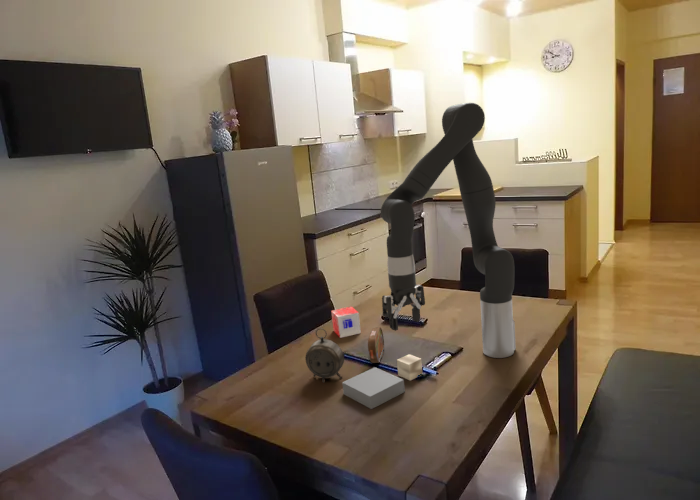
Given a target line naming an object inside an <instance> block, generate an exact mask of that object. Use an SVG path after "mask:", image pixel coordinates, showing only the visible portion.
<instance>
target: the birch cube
mask: <svg viewBox="0 0 700 500" xmlns="http://www.w3.org/2000/svg"><path fill="white" fill-rule="evenodd" d="M422 363H423V362H422V358H421V357H418V356H415V355H413V354H409V353H408V354H407V355H405V356H402V357H400V358H398V359H396V366H397V375H398V376H397V377H401V378H402V379H404V380H408V381H412V380H415V379H416V378H418V377H417V376H418V375H420V374H422V373H423V365H422ZM422 375H423V374H422ZM420 376H421V375H420Z"/></svg>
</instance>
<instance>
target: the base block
mask: <svg viewBox="0 0 700 500" xmlns="http://www.w3.org/2000/svg"><path fill="white" fill-rule="evenodd" d="M341 386H342V390H343V392H342V393H343V395H344V396H347V398H350V399H352V400H354V401H355V402H358V403H359V404H361V405H363V406H364V407H366V408H369V409H370V410H373V409H374V408H376V407H378V406H380V405H382V404H384V403H386V402H388V401H390V400H392V399H395V398H397V397H398V396H399V395H401V394H403V393H405V392H406V391H405V390H406V389H405V379H404V378H402V377H401V378H400V376H396V375H394V374H391V373H390V372H387V371H384V370H382V369H380V368H377V367H375V366H373V367H372V368H370V369H368V370H366V371H364V372H362V373H359V374H357V375H354V376H353V377H351V378H349V379H347V380H344V381H342V385H341Z"/></svg>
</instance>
